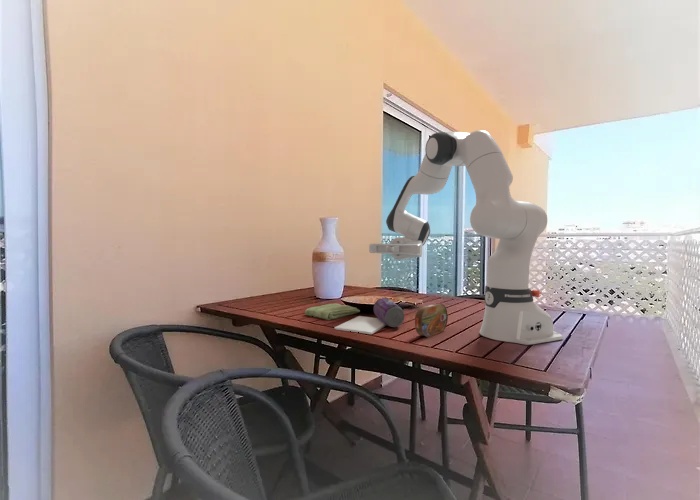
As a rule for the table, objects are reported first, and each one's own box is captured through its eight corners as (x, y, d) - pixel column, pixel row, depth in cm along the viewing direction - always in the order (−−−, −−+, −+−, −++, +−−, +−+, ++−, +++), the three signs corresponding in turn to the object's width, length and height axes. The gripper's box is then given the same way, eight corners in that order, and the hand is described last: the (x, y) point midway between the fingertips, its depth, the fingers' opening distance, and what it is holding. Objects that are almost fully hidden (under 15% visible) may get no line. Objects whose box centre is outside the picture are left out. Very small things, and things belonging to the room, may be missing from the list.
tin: (422, 339, 103) (422, 309, 103) (412, 337, 105) (413, 307, 105) (448, 330, 114) (449, 302, 114) (439, 328, 117) (439, 301, 116)
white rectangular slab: (358, 317, 129) (358, 316, 129) (392, 321, 124) (392, 319, 124) (334, 329, 113) (334, 327, 113) (371, 334, 108) (371, 332, 108)
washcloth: (361, 314, 137) (361, 305, 137) (329, 322, 124) (329, 312, 123) (334, 309, 146) (334, 300, 145) (301, 316, 132) (301, 307, 132)
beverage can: (396, 307, 128) (410, 316, 116) (382, 322, 127) (394, 333, 115) (383, 292, 126) (395, 301, 114) (368, 308, 125) (379, 318, 114)
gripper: (376, 240, 153) (362, 240, 141) (425, 240, 145) (416, 240, 132) (376, 255, 154) (362, 256, 141) (425, 257, 145) (415, 258, 132)
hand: (389, 249), depth 136 cm, fingers closed
